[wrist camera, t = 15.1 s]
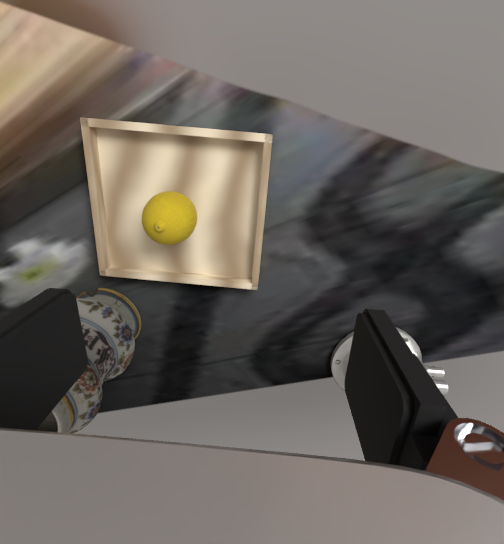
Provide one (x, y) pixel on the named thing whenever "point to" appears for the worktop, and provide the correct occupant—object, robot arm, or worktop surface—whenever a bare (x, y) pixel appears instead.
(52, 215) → the worktop surface
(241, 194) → the birch tray
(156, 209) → the lemon
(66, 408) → the apothecary jar
